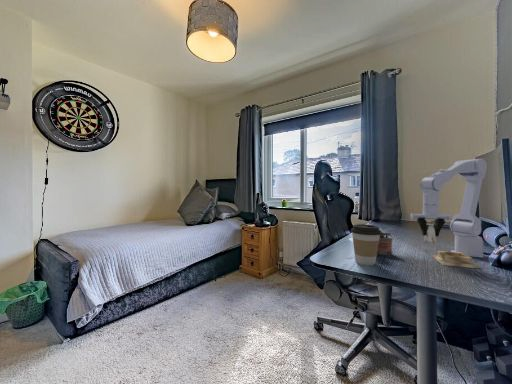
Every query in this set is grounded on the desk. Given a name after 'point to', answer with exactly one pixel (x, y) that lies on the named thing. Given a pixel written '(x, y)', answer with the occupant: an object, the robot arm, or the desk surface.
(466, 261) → the dock socket
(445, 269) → the desk surface
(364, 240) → the coffee cup
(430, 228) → the spigot peg
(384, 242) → the hip flask
